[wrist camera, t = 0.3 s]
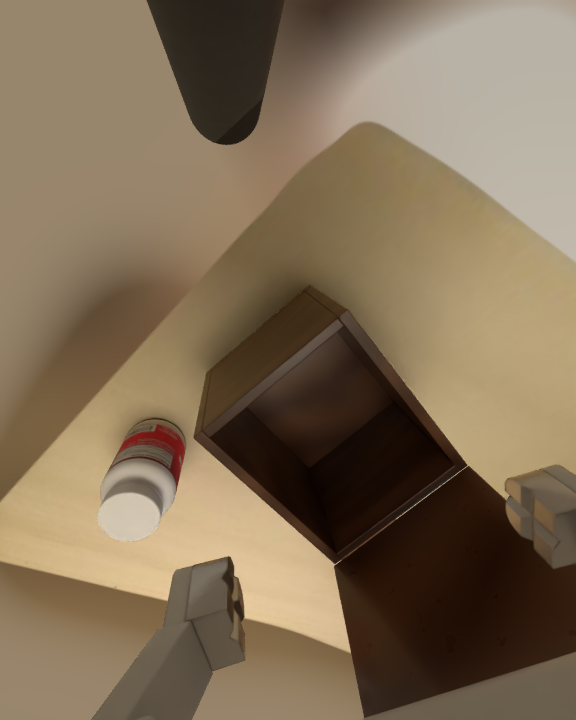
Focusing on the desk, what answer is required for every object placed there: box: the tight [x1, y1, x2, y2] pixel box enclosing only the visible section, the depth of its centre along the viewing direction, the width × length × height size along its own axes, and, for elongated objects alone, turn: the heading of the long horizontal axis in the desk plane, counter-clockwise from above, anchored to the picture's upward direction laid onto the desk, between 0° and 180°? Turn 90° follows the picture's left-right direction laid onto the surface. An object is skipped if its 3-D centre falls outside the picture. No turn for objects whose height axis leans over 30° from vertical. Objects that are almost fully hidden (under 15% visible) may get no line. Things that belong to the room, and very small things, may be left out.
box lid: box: [334, 466, 576, 718], centre depth 21 cm, size 17×14×1 cm
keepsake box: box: [193, 285, 467, 564], centre depth 33 cm, size 17×14×13 cm
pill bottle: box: [98, 419, 186, 542], centre depth 34 cm, size 6×6×11 cm
